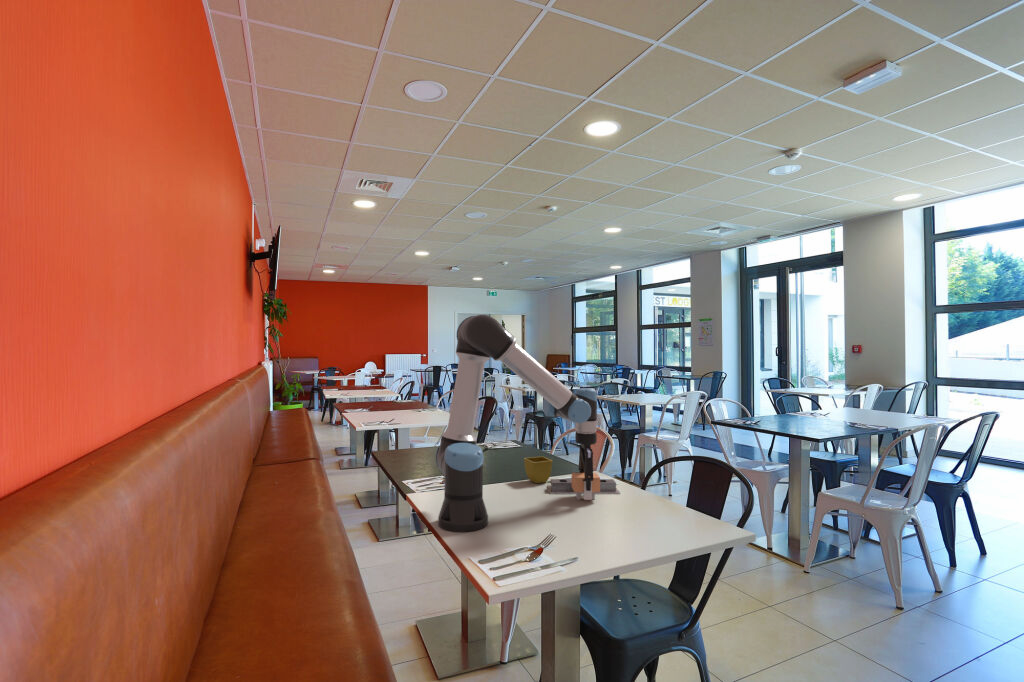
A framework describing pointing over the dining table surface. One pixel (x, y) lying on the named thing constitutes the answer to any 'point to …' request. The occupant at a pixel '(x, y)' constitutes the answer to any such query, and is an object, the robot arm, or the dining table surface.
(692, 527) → the dining table surface
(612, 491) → the rail
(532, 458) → the flower pot
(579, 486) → the orange tapered block
